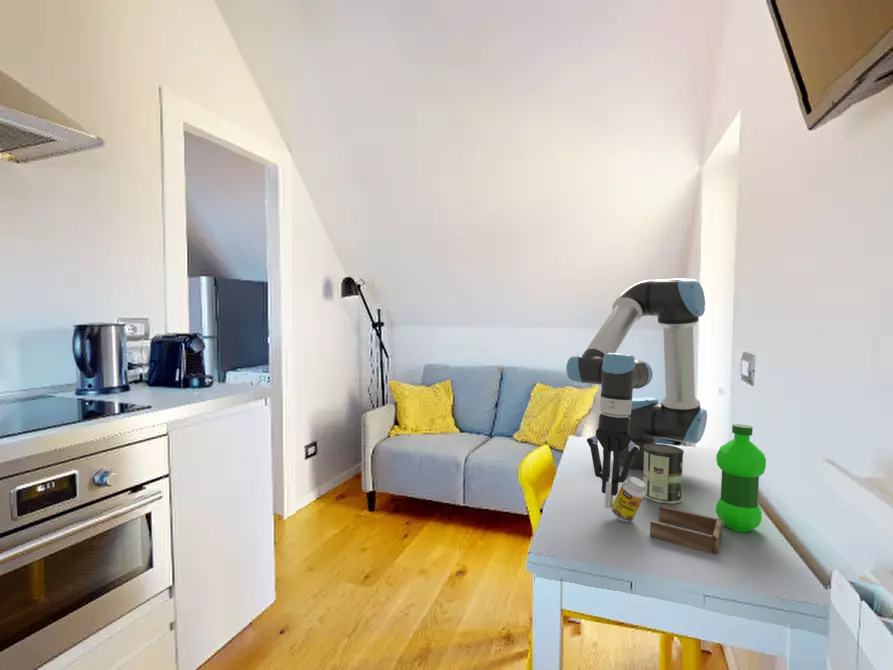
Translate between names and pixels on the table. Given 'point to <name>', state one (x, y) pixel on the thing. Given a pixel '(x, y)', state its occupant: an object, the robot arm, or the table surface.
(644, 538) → the table surface
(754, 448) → the plastic bottle
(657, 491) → the coffee can
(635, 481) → the supplement bottle
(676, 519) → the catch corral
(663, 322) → the robot arm
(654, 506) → the table surface
